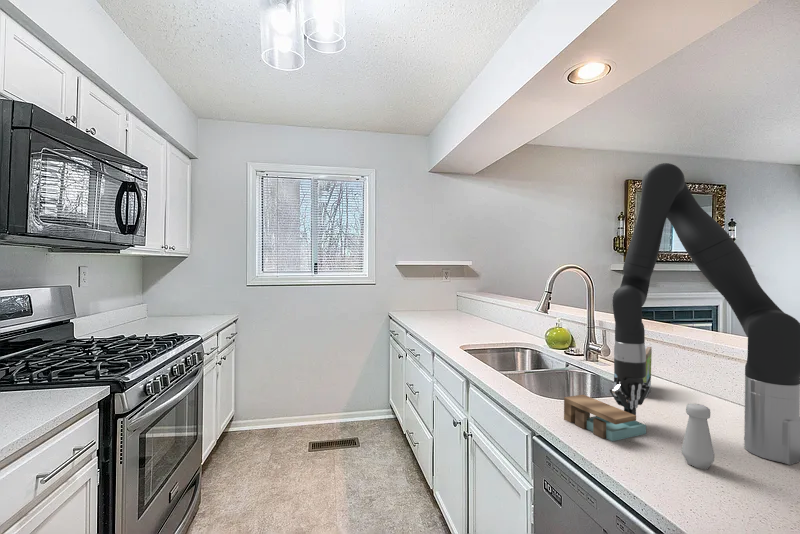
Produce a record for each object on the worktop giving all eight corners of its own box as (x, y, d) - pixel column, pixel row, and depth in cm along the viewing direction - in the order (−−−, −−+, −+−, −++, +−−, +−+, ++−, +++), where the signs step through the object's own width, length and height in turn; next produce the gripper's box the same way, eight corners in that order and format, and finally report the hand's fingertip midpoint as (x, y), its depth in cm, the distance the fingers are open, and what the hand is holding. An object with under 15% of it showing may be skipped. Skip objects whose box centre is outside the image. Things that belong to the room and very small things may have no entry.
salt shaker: (682, 455, 89) (682, 398, 89) (714, 463, 85) (715, 404, 85) (680, 465, 84) (680, 406, 84) (714, 474, 80) (714, 412, 80)
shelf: (636, 440, 96) (636, 415, 96) (615, 445, 93) (615, 419, 93) (582, 415, 111) (582, 394, 111) (564, 419, 109) (564, 397, 109)
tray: (645, 434, 100) (646, 424, 100) (611, 441, 96) (612, 432, 95) (615, 420, 108) (615, 412, 108) (582, 427, 104) (582, 418, 104)
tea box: (647, 398, 126) (648, 353, 125) (612, 392, 132) (613, 349, 132) (651, 387, 138) (651, 345, 137) (619, 381, 144) (619, 342, 144)
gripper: (624, 363, 100) (625, 430, 100) (659, 358, 105) (660, 422, 105) (600, 357, 107) (600, 419, 107) (634, 353, 112) (634, 412, 112)
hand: (630, 420), depth 106 cm, fingers closed
